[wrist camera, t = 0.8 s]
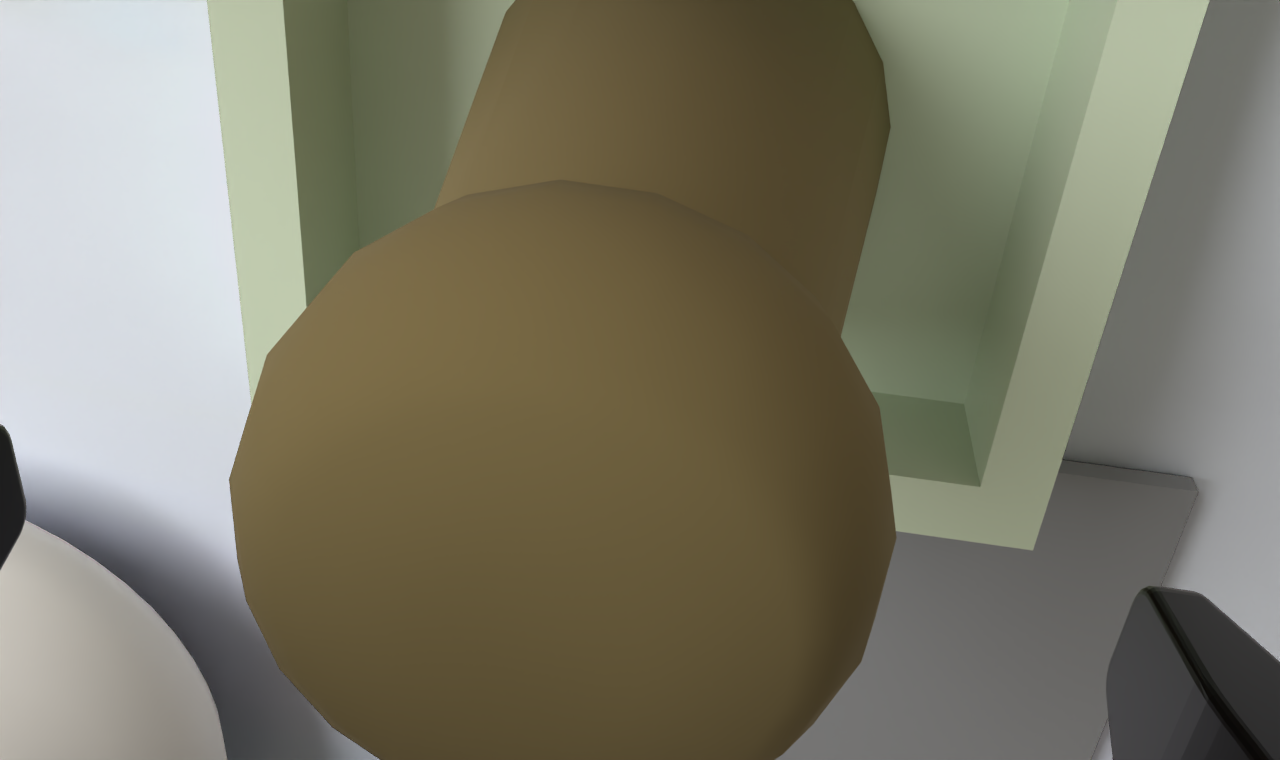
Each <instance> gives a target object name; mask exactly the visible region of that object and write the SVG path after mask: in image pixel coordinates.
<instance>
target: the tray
mask: <svg viewBox="0 0 1280 760" xmlns="http://www.w3.org/2000/svg"><path fill="white" fill-rule="evenodd" d="M514 1H515V0H207V5H208V14H209V23H210V32H211V41H212V50H213V60H214V69H215V78H216V87H217V96H218V105H219V114H220V123H221V132H222V141H223V150H224V159H225V168H226V177H227V186H228V196H229V205H230V214H231V223H232V232H233V241H234V250H235V259H236V268H237V277H238V286H239V295H240V304H241V313H242V322H243V332H244V341H245V350H246V359H247V368H248V377H249V386H250V395H251V404H252V402H253V398H254V395H255V392H256V389H257V385H258V382H259V379H260V375H261V372H262V369H263V366H264V362H265V359H266V356H267V354H268V353H269V352H270V350H271V349H272V348H273V347H274V346H275V344H276V343H277V342H278V341H279V340H280V339H281V337H282V336H283V335H284V334H285V333H286V331H287V330H288V329H289V328H290V327H291V326H292V324H293V323H294V322H295V321H296V320H297V318H298V317H299V316H300V315H301V314H302V313H303V311H304V310H305V309H306V308H307V307H308V305H309V304H310V303H311V302H312V301H313V300H314V298H315V297H316V296H317V295H318V294H319V292H320V291H321V290H322V289H323V288H324V287H325V285H326V284H327V283H328V282H329V281H330V280H331V278H332V277H333V276H334V275H335V274H336V273H337V271H338V270H339V269H340V268H341V267H342V266H343V264H344V263H345V262H346V261H347V260H348V259H349V257H350V256H351V255H352V254H353V253H354V252H356V251H358V250H359V249H361V248H363V247H365V246H367V245H369V244H371V243H372V242H374V241H376V240H378V239H380V238H382V237H383V236H385V235H387V234H389V233H391V232H393V231H395V230H396V229H398V228H400V227H402V226H404V225H406V224H408V223H409V222H411V221H413V220H415V219H417V218H419V217H421V216H422V215H424V214H426V213H428V212H430V211H432V210H434V207H435V204H436V202H437V199H438V196H439V193H440V191H441V188H442V185H443V182H444V180H445V177H446V174H447V171H448V169H449V166H450V163H451V160H452V158H453V155H454V152H455V149H456V147H457V144H458V141H459V138H460V136H461V133H462V130H463V127H464V125H465V122H466V119H467V116H468V114H469V111H470V108H471V105H472V103H473V100H474V97H475V94H476V92H477V89H478V86H479V83H480V81H481V78H482V75H483V72H484V70H485V67H486V64H487V61H488V59H489V56H490V53H491V51H492V48H493V45H494V42H495V40H496V37H497V34H498V32H499V29H500V26H501V23H502V21H503V18H504V15H505V13H506V11H507V10H508V9H509V7H510V6H511V5H512V4H513V3H514ZM852 1H853V2H854V3H855V5H856V7H857V9H858V12H859V14H860V16H861V18H862V20H863V22H864V24H865V26H866V28H867V30H868V32H869V34H870V36H871V38H872V41H873V43H874V45H875V47H876V49H877V51H878V53H879V55H880V57H881V59H882V61H883V66H884V74H885V83H886V91H887V100H888V108H889V117H890V125H891V128H890V133H889V138H888V142H887V147H886V152H885V156H884V161H883V165H882V170H881V175H880V179H879V184H878V189H877V193H876V197H875V201H874V205H873V209H872V213H871V217H870V221H869V225H868V229H867V233H866V237H865V241H864V245H863V249H862V253H861V257H860V261H859V265H858V269H857V273H856V277H855V281H854V285H853V289H852V293H851V298H850V302H849V306H848V310H847V314H846V318H845V322H844V326H843V330H842V334H841V338H842V340H843V342H844V344H845V346H846V347H847V349H848V351H849V353H850V355H851V356H852V358H853V360H854V362H855V364H856V365H857V367H858V369H859V371H860V373H861V374H862V376H863V378H864V380H865V382H866V383H867V385H868V387H869V389H870V391H871V392H872V394H873V396H874V398H875V400H876V401H877V403H878V405H879V407H880V413H881V421H882V428H883V435H884V442H885V450H886V457H887V464H888V471H889V478H890V486H891V493H892V502H893V511H894V519H895V528H896V531H899V532H906V533H913V534H920V535H927V536H934V537H941V538H948V539H955V540H962V541H969V542H976V543H983V544H990V545H997V546H1005V547H1012V548H1019V549H1026V550H1033V549H1034V546H1035V543H1036V539H1037V536H1038V533H1039V530H1040V527H1041V524H1042V521H1043V518H1044V515H1045V511H1046V508H1047V505H1048V502H1049V499H1050V496H1051V493H1052V490H1053V487H1054V483H1055V480H1056V477H1057V474H1058V471H1059V468H1060V465H1061V462H1062V458H1063V455H1064V452H1065V449H1066V446H1067V443H1068V440H1069V437H1070V434H1071V430H1072V427H1073V424H1074V421H1075V418H1076V415H1077V412H1078V409H1079V406H1080V402H1081V399H1082V396H1083V393H1084V390H1085V387H1086V384H1087V381H1088V378H1089V374H1090V371H1091V368H1092V365H1093V362H1094V359H1095V356H1096V353H1097V350H1098V346H1099V343H1100V340H1101V337H1102V334H1103V331H1104V328H1105V325H1106V321H1107V318H1108V315H1109V312H1110V309H1111V306H1112V303H1113V300H1114V297H1115V293H1116V290H1117V287H1118V284H1119V281H1120V278H1121V275H1122V272H1123V269H1124V265H1125V262H1126V259H1127V256H1128V253H1129V250H1130V247H1131V244H1132V241H1133V237H1134V234H1135V231H1136V228H1137V225H1138V222H1139V219H1140V216H1141V213H1142V209H1143V206H1144V203H1145V200H1146V197H1147V194H1148V191H1149V188H1150V184H1151V181H1152V178H1153V175H1154V172H1155V169H1156V166H1157V163H1158V160H1159V156H1160V153H1161V150H1162V147H1163V144H1164V141H1165V138H1166V135H1167V132H1168V128H1169V125H1170V122H1171V119H1172V116H1173V113H1174V110H1175V107H1176V104H1177V100H1178V97H1179V94H1180V91H1181V88H1182V85H1183V82H1184V79H1185V76H1186V72H1187V69H1188V66H1189V63H1190V60H1191V57H1192V54H1193V51H1194V47H1195V44H1196V41H1197V38H1198V35H1199V32H1200V29H1201V26H1202V23H1203V19H1204V16H1205V13H1206V10H1207V7H1208V4H1209V1H1210V0H852Z"/></svg>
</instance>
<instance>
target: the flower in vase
mask: <svg viewBox="0 0 1280 760" xmlns="http://www.w3.org/2000/svg"><path fill="white" fill-rule="evenodd" d="M0 760H227V755H226V750H225V745H224V739H223V734H222V729H221V725H220V720H219V715H218V710H217V708H216V705H215V702H214V700H213V697H212V695H211V692H210V690H209V687H208V685H207V683H206V681H205V679H204V677H203V676H202V674H201V672H200V670H199V668H198V667H197V665H196V663H195V661H194V659H193V658H192V656H191V655H190V654H189V652H188V651H187V649H186V648H185V647H184V645H183V644H182V642H181V641H180V640H179V638H178V637H177V635H176V634H175V633H174V632H173V630H172V629H171V628H170V627H169V626H168V625H167V624H166V623H165V621H164V620H163V619H162V618H161V617H160V616H159V615H158V613H157V612H156V611H155V610H154V609H153V608H152V607H151V606H150V605H149V604H148V603H147V602H146V601H144V600H143V599H142V598H141V597H140V596H139V595H138V594H137V593H136V592H135V591H134V590H132V589H131V588H130V587H129V586H128V585H127V584H126V583H125V582H123V581H122V580H121V579H119V578H118V577H117V576H115V575H114V574H113V573H112V572H110V571H109V570H108V569H106V568H105V567H104V566H102V565H101V564H100V563H98V562H97V561H96V560H94V559H93V558H91V557H89V556H88V555H86V554H85V553H83V552H82V551H80V550H79V549H77V548H75V547H74V546H72V545H71V544H69V543H68V542H66V541H64V540H63V539H61V538H59V537H57V536H55V535H53V534H51V533H49V532H47V531H46V530H44V529H42V528H40V527H38V526H36V525H34V524H32V523H30V522H28V521H26V520H25V523H24V526H23V529H22V532H21V534H20V536H19V538H18V540H17V542H16V543H15V545H14V547H13V549H12V551H11V552H10V554H9V556H8V558H7V560H6V561H5V563H4V565H3V567H2V568H1V570H0Z"/></svg>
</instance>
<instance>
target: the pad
mask: <svg viewBox="0 0 1280 760" xmlns="http://www.w3.org/2000/svg"><path fill="white" fill-rule="evenodd" d="M1197 495H1198V489H1197V487H1196V485H1195V483H1194V481H1193V479H1192V478H1191V477H1184V476H1177V475H1169V474H1162V473H1155V472H1147V471H1140V470H1133V469H1125V468H1118V467H1110V466H1103V465H1096V464H1088V463H1081V462H1074V461H1066V460H1062V462H1061V465H1060V468H1059V471H1058V474H1057V477H1056V480H1055V483H1054V487H1053V490H1052V493H1051V496H1050V499H1049V502H1048V505H1047V508H1046V511H1045V515H1044V518H1043V521H1042V524H1041V527H1040V530H1039V533H1038V536H1037V539H1036V543H1035V546H1034V549H1033V550H1026V549H1019V548H1012V547H1005V546H997V545H990V544H983V543H976V542H969V541H962V540H955V539H948V538H941V537H934V536H927V535H920V534H913V533H906V532H899V531H896V537H897V538H896V542H895V546H894V550H893V553H892V557H891V561H890V564H889V568H888V572H887V576H886V579H885V583H884V587H883V591H882V594H881V598H880V602H879V605H878V609H877V613H876V617H875V620H874V623H873V626H872V630H871V633H870V636H869V639H868V642H867V645H866V649H865V652H864V655H863V658H862V661H861V663H860V664H859V666H858V667H857V668H856V670H855V671H854V672H853V673H852V675H851V676H850V677H849V679H848V680H847V681H846V682H845V684H844V685H843V686H842V688H841V689H840V690H839V692H838V693H837V694H836V695H835V697H834V698H833V699H832V701H831V702H830V703H829V704H828V706H827V707H826V708H825V710H824V711H823V712H822V714H821V715H820V716H819V717H818V719H817V720H816V721H815V723H814V724H813V725H812V726H811V727H810V728H809V729H808V730H807V731H806V732H805V733H804V734H803V735H802V736H801V737H800V738H799V739H798V740H797V741H796V742H795V743H794V744H793V745H792V746H791V747H790V748H789V749H788V750H787V751H786V752H785V753H784V754H783V755H781V756H780V757H778V758H776V759H775V760H1091V759H1092V756H1093V754H1094V751H1095V749H1096V746H1097V744H1098V741H1099V739H1100V736H1101V734H1102V731H1103V729H1104V726H1105V724H1106V721H1107V719H1108V709H1107V699H1106V678H1107V671H1108V667H1109V663H1110V660H1111V658H1112V655H1113V652H1114V650H1115V647H1116V645H1117V642H1118V639H1119V637H1120V634H1121V632H1122V629H1123V626H1124V624H1125V621H1126V619H1127V616H1128V613H1129V611H1130V608H1131V606H1132V603H1133V601H1134V599H1135V597H1136V595H1137V594H1138V593H1139V591H1140V590H1141V589H1143V588H1145V587H1147V586H1160V587H1161V584H1162V582H1163V579H1164V577H1165V574H1166V572H1167V569H1168V567H1169V564H1170V562H1171V559H1172V557H1173V554H1174V552H1175V549H1176V547H1177V544H1178V542H1179V539H1180V537H1181V534H1182V532H1183V529H1184V527H1185V524H1186V522H1187V519H1188V517H1189V514H1190V512H1191V509H1192V507H1193V505H1194V502H1195V500H1196V497H1197Z"/></svg>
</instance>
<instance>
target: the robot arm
mask: <svg viewBox="0 0 1280 760" xmlns="http://www.w3.org/2000/svg"><path fill="white" fill-rule="evenodd" d="M25 518H26V500H25V496H24V492H23V487H22V483H21V479H20V475H19V470H18V466H17V462H16V458H15V453H14V449H13V445H12V441H11V437H10V435H9V433H8V431H7V430H6V429H5V427H4V426H3V425H1V424H0V570H1V568H2V567H3V565H4V563H5V561H6V560H7V558H8V556H9V554H10V552H11V551H12V549H13V547H14V545H15V543H16V542H17V540H18V538H19V536H20V534H21V532H22V529H23V526H24V523H25ZM1106 699H1107V709H1108V718H1109V727H1110V736H1111V746H1112V755H1113V760H1280V662H1279V661H1278V660H1277V659H1276V658H1275V657H1274V656H1273V655H1271V654H1270V653H1269V652H1268V651H1267V650H1266V649H1265V648H1263V647H1262V646H1261V645H1260V644H1259V643H1258V642H1257V641H1255V640H1254V639H1253V638H1252V637H1251V636H1250V635H1249V634H1247V633H1246V632H1245V631H1244V630H1243V629H1242V628H1241V627H1239V626H1238V625H1237V624H1236V623H1235V622H1234V621H1233V620H1231V619H1230V618H1229V617H1228V616H1227V615H1226V614H1225V613H1223V612H1222V611H1221V610H1220V609H1219V608H1218V607H1217V606H1215V605H1214V604H1213V603H1212V602H1211V601H1210V600H1209V599H1207V598H1206V597H1205V596H1203V595H1202V594H1200V593H1197V592H1194V591H1188V590H1181V589H1174V588H1167V587H1160V586H1147V587H1145V588H1143V589H1141V590H1140V591H1139V593H1138V594H1137V595H1136V597H1135V599H1134V601H1133V603H1132V606H1131V608H1130V611H1129V613H1128V616H1127V619H1126V621H1125V624H1124V626H1123V629H1122V632H1121V634H1120V637H1119V639H1118V642H1117V645H1116V647H1115V650H1114V652H1113V655H1112V658H1111V660H1110V663H1109V667H1108V671H1107V678H1106Z"/></svg>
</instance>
